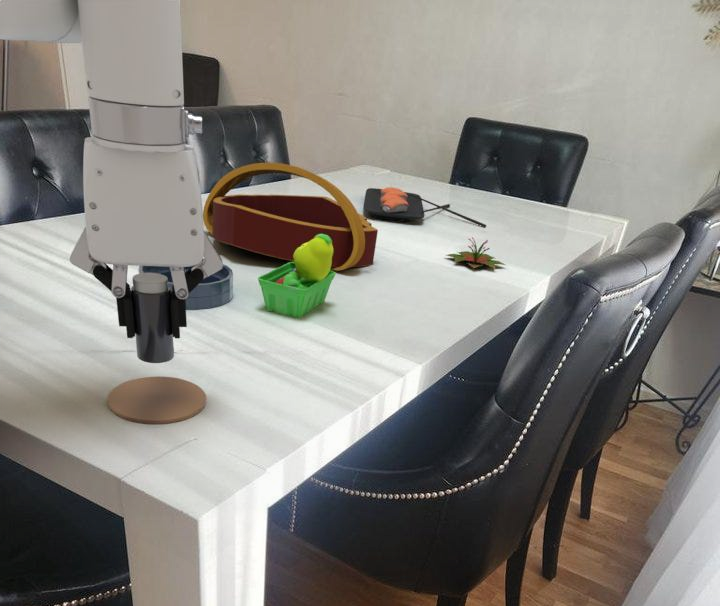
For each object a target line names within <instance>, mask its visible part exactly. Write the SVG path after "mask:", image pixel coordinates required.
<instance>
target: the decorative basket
mask: <svg viewBox="0 0 720 606" xmlns="http://www.w3.org/2000/svg"><path fill="white" fill-rule="evenodd" d="M267 174H282V175H291V176H297V177H301V178H303V179H307V180H308V181H311V182H313V183H315V184H317V185H318V186H319V187H321V188H323V189H324V190H325V191H326V192H328V193H329V194H330V196H332V198H334V199H332V198H330V197H328V196H322V195H321V196H320V195H297V194H292V195H291V194H240V193H239V194H230V195H229V194H228V193H229V192H230V191H231V190H232V189H234V188H235V187H236V186H237V185H239V184H241V183H242V182H244V181H245V180H247V179H250V178H252V177H255V176H260V175H267ZM227 194H228V195H227ZM202 210H203V225H204V227H205V228H206V230H207V231H208V232H209V233H210V234H211V235H212V238H213V239H214V240H215V241H217V242H220V243H223V244H226V245H230V246H234V247H237V248H240V249H243V250H245V251H246V250H247V251H250V252H253V253H257V254H259V255H260V254H261V255H264V256H268V257H273V258H276V259H281V260H286V261H290V262H294V258H293V255H294V252H295V250H296V249H297V248H298V247H300V246H301V245H302V244H304V243H307V242H309V241H310V240H312V239H314V237H315V236H316V235H318V234H324V235H328V236H329V237H330V238H331V240H332V246H333V256H332V264H331V268H330V271H335V272H337V271H339V272H340V271H344V270H347V269H349V268H355V267H365V266H371V265H373V264H374V258H375V252H376V247H377V246H376V245H377V238H378V232H379V229H377V228H376V227H374V226H372V222H370V221H368V218H367V217H366V216H364V215H362V214H361V213H358V211H357V209H356V207H355V206H354V204H353V203H352V201H351V200H350V199H349V198H348V196H347V195H346V194H345V193H344V192H342V190H340V188H338V187H337V186H336V185H334V184H333V183H331V182H330V180H327V179H326V178H323V177H322V176H320V175H317V174H315V173H314V172H311V171H309V170H307V169H304V168H301V167H299V166H295V165H292V164H286V163H279V162H257V163H250V164H246V165H242V166H240V167H237V168H235V169H233V170H231V171H229V172H228V173H226V174H225V175H223V176H222V177H221V178H220V179H219V180H218V181H217V182H216V183H215V184H214V186H213V188H212V189H211V191H209V194H208V195H207V197H206V200H205V203H204V206H203V209H202Z"/></svg>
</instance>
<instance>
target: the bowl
mask: <svg viewBox="0 0 720 606" xmlns="http://www.w3.org/2000/svg"><path fill="white" fill-rule="evenodd" d="M203 260H204V258H203V259H202V261H203ZM202 261H201V262H202ZM191 267H192V266H189V267H184V268H185V273H186V272H187V271H188V270H189V269H190V268H191ZM140 273H158V274H162V275H164V276H166V277H167V278H168V287H170V290H171V291H172V286H173V285H174V284H173V280H172V275H171V271H170V267H163V266H138V274H140ZM233 297H234V272H233V270H232V269H231V268H230V267H229V266H228V265H226V264H224V263H223V268H222V269H221V270H219V271H217V272H216V273H214V274H212V275H210V276H209V277H206V278H204V279H203V280H202V281H201V282H200V283H199V284H198V285H197V286H196V287H195V288H194V289H193V290H192V291H191V292H190V293H189V294H188V297H187V298H186V310H203V309H206V310H207V309H211V308H212V309H213V308H215V307H216V308H217V307H221V306H224V305H226V304H227V303H229V302H230V301H231V300H232V299H233Z"/></svg>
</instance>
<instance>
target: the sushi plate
mask: <svg viewBox="0 0 720 606" xmlns="http://www.w3.org/2000/svg"><path fill="white" fill-rule="evenodd" d="M423 202H425V203H426V204H430V205H432V206H434V207H432V208H429V209H424V205H423ZM448 206H450V207H451V204H450V203H448V204H443V205H439V204H437V203H433V202H431V201H429V200H427V199H425V198H422V197H421V196H420V194H417V193H414V192H407V191H403V190H402V189H400V188H399V187H392V186H391V187H390V186H389V187H385V188H374V187H368V188H367V189H366V190H365V194H364V200H363V211H364V212H366V213H369V214H372V215H374V216H375V217H376V218H379V219H383V218H384V219H383V220H389V219H392V220H391V221H397V220H403V221H402V222H410V221H411V220H422V219H424V218H425V213H427V212H431V211H435V210H440V209H441V210H444V211H446V212H447V213H450V214H453V215H454V216H457V217H459V218H462V219H464V220H465V221H469V222H471V223H473V224H476V225H477V224H478V225H477V226H480V225H481V226H480V227H482V226H484V227H483V228H487V224H486V223H483V222H480V221H478V220H476V219H473V218H470V217H469V216H465V215H463V214H462V213H458V212H456V211H453V210H450V209H448V208H449V207H448ZM409 220H410V221H409Z"/></svg>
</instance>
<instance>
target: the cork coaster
mask: <svg viewBox="0 0 720 606" xmlns="http://www.w3.org/2000/svg"><path fill="white" fill-rule="evenodd" d="M206 404H207V395H206V392H205V391H204V390H203V388H201V387H200V386H199V385H197V384H195V383H194V382H192V381H189V380H186V379H182V378H178V377H173V376H160V375H159V376H144V377H139V378H138V377H137V378H134V379H130V380H127V381H124V382H123V383H120V384H118V385H116V386H115V387H114V388H112V389H111V391H110V392H109V393H108V395H107V405H108V408H109V410H110V411H111V412H112V413H113V414H114V415H116V416H117V417H119V418H121V419H124V420H127V421H129V422H134V423H140V424H147V425H150V424H151V425H156V424H157V425H162V424H164V425H165V424H171V423H177V422H181V421H185V420H187V419H190V418H192V417H194V416H196V415H198V414H199V413H200V412H202V410H203V409H204V408H205V406H206Z"/></svg>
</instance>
